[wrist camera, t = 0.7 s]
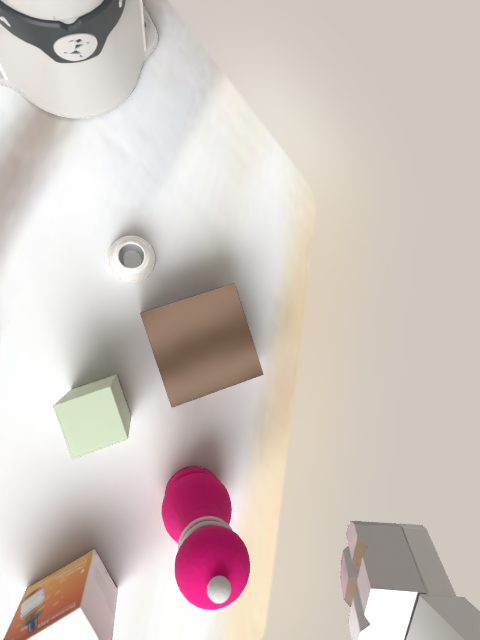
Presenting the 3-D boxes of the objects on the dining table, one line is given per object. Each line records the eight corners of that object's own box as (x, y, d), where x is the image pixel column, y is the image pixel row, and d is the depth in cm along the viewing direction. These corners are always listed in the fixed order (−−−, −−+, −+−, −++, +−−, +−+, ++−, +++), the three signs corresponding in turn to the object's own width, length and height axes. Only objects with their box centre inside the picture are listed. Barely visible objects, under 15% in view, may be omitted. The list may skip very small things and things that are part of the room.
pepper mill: (233, 505, 53) (285, 613, 34) (176, 537, 52) (195, 667, 32) (208, 450, 53) (245, 526, 33) (149, 480, 51) (152, 578, 32)
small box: (95, 546, 50) (82, 604, 40) (119, 589, 51) (112, 658, 40) (24, 587, 49) (-8, 658, 38) (49, 631, 49) (24, 713, 39)
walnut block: (140, 314, 51) (140, 312, 46) (224, 287, 53) (234, 283, 48) (168, 398, 52) (171, 407, 46) (250, 368, 54) (263, 374, 48)
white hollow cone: (100, 249, 51) (123, 289, 51) (97, 245, 48) (121, 287, 48) (141, 229, 51) (163, 268, 52) (140, 223, 49) (163, 265, 49)
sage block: (71, 389, 50) (53, 405, 40) (116, 374, 51) (109, 386, 41) (86, 432, 50) (71, 459, 40) (131, 416, 51) (127, 439, 41)
